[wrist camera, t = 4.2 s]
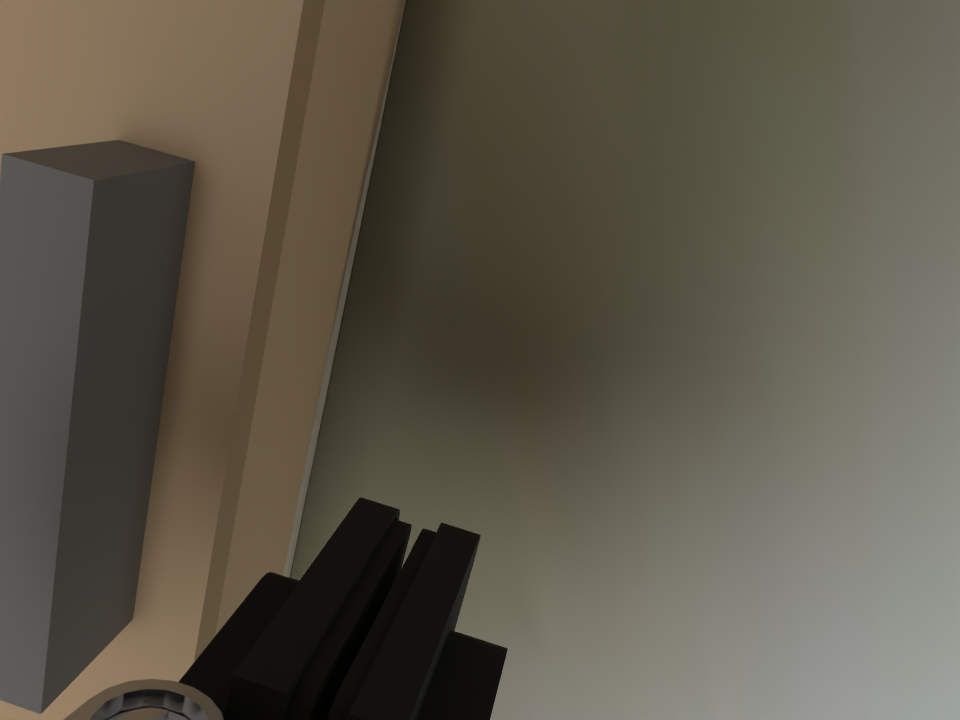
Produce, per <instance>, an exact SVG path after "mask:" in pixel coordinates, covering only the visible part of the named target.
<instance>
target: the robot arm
mask: <svg viewBox="0 0 960 720" xmlns="http://www.w3.org/2000/svg"><path fill="white" fill-rule="evenodd" d="M399 515H400V510H399V509H396V508H393V507H390V506H386V505H383V504H380V503H377V502H374V501H371V500H367V499H364V498H359V499H358V500H357V502H356V503H355V504H354V506H353V507H352V509H351V510H350V511H349V513H348V514H347V516H346V517H345V518H344V520H343V521H342V523H341V524H340V525H339V527H338V528H337V530H336V531H335V532H334V534H333V535H332V536H331V538H330V539H329V541H328V542H327V543H326V545H325V546H324V548H323V549H322V550H321V552H320V553H319V555H318V556H317V557H316V559H315V560H314V562H313V563H312V564H311V566H310V567H309V569H308V570H307V571H306V573H305V574H304V576H303V577H302V578H301V580H300V581H298V580H295V579H292V578H289V577H285V576H282V575H279V574H276V573H273V572H268V573H266V574H265V575H264V576H263V577H262V578H261V579H260V581H259V582H258V583H257V584H256V586H255V587H254V588H253V589H252V591H251V592H250V593H249V594H248V596H247V597H246V598H245V599H244V601H243V602H242V603H241V604H240V606H239V607H238V608H237V609H236V611H235V612H234V613H233V614H232V616H231V617H230V618H229V619H228V621H227V622H226V623H225V624H224V626H223V627H222V628H221V629H220V631H219V632H218V633H217V634H216V636H215V637H214V638H213V639H212V641H211V642H210V643H209V644H208V646H207V647H206V648H205V649H204V651H203V652H202V653H201V654H200V656H199V657H198V658H197V659H196V661H195V662H194V663H193V664H192V666H191V667H190V668H189V669H188V671H187V672H186V673H185V674H184V676H183V677H182V678H181V679H180V681H179V682H176V681H170V680H160V679H143V680H133V681H127V682H124V683H121V684H118V685H115V686H112V687H108V688H106V689H105V690H103V691H101V692H100V693H98V694H96V695H95V696H93V697H91V698H90V699H88V700H87V701H86V702H85V703H83V704H82V705H81V706H80V707H78V708H77V709H76V710H75V711H73V712H72V713H71V714H70V715H69V716H67V717H66V718H65V719H64V720H490V717H491V713H492V709H493V705H494V701H495V697H496V693H497V689H498V685H499V681H500V677H501V673H502V669H503V666H504V662H505V658H506V653H507V648H504V647H501V646H498V645H495V644H492V643H489V642H486V641H483V640H480V639H477V638H474V637H470V636H467V635H464V634H461V633H458V632H455V631H454V630H455V627H456V623H457V620H458V616H459V612H460V609H461V605H462V602H463V598H464V595H465V591H466V587H467V584H468V580H469V577H470V573H471V570H472V566H473V562H474V559H475V555H476V552H477V548H478V544H479V540H480V535H479V534H476V533H473V532H470V531H466V530H463V529H460V528H457V527H454V526H450V525H447V524H444V523H441V525H440V526H439V528H438V530H437V533H436V532H433V531H430V530H427V529H422V531H421V533H420V534H419V536H418V538H417V540H416V542H415V544H414V546H413V548H412V550H411V552H410V554H409V556H408V558H407V559H406V561H405V563H404V565H403V567H402V564H403V560H404V556H405V552H406V548H407V544H408V540H409V536H410V532H411V524H408V523H405V522H401V521H399ZM401 568H402V569H401Z"/></svg>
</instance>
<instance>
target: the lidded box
mask: <svg viewBox="0 0 960 720" xmlns="http://www.w3.org/2000/svg"><path fill="white" fill-rule="evenodd" d="M405 3H406V0H325V4H324V10H323V16H322V21H321V27H320V33H319V39H318V44H317V50H316V56H315V62H314V67H313V73H312V79H311V85H310V91H309V96H308V102H307V108H306V114H305V119H304V125H303V131H302V137H301V142H300V148H299V154H298V160H297V166H296V171H295V177H294V183H293V189H292V194H291V200H290V206H289V212H288V217H287V223H286V229H285V235H284V241H283V246H282V252H281V258H280V264H279V269H278V275H277V281H276V287H275V292H274V298H273V304H272V310H271V316H270V321H269V327H268V333H267V339H266V344H265V350H264V356H263V362H262V367H261V373H260V379H259V385H258V391H257V396H256V402H255V408H254V414H253V419H252V425H251V431H250V437H249V443H248V448H247V454H246V460H245V466H244V471H243V477H242V483H241V489H240V494H239V500H238V506H237V512H236V518H235V523H234V529H233V535H232V541H231V546H230V552H229V558H228V564H227V569H226V575H225V581H224V587H223V593H222V598H221V604H220V610H219V616H218V621H217V627H216V633H215V636H216V634H217V633H218V632H219V631H220V629H221V628H222V627H223V626H224V624H225V623H226V622H227V621H228V619H229V618H230V617H231V616H232V614H233V613H234V612H235V611H236V609H237V608H238V607H239V606H240V604H241V603H242V602H243V601H244V599H245V598H246V597H247V596H248V594H249V593H250V592H251V591H252V589H253V588H254V587H255V586H256V584H257V583H258V582H259V581H260V579H261V578H262V577H263V576H264V575H265V574H266V573H268V572H273V573H276V574H279V575H282V576H285V577H289V578H290V574H291V569H292V564H293V559H294V554H295V550H296V545H297V540H298V535H299V530H300V525H301V520H302V515H303V510H304V505H305V500H306V495H307V490H308V485H309V480H310V475H311V470H312V465H313V460H314V455H315V450H316V445H317V440H318V435H319V430H320V425H321V420H322V415H323V410H324V405H325V400H326V395H327V390H328V386H329V381H330V376H331V371H332V366H333V361H334V356H335V351H336V346H337V341H338V336H339V331H340V326H341V321H342V316H343V311H344V306H345V301H346V296H347V291H348V286H349V281H350V276H351V271H352V266H353V261H354V256H355V251H356V246H357V241H358V236H359V231H360V226H361V222H362V217H363V212H364V207H365V202H366V197H367V192H368V187H369V182H370V177H371V172H372V167H373V162H374V157H375V152H376V147H377V142H378V137H379V132H380V127H381V122H382V117H383V112H384V107H385V102H386V97H387V92H388V87H389V82H390V77H391V72H392V67H393V63H394V58H395V53H396V48H397V43H398V38H399V33H400V28H401V23H402V18H403V13H404V8H405Z"/></svg>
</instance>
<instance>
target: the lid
mask: <svg viewBox="0 0 960 720" xmlns="http://www.w3.org/2000/svg"><path fill="white" fill-rule="evenodd" d="M324 4H325V0H0V720H64V719H65V718H66V717H67V716H69V715H70V714H71V713H72V712H73V711H75V710H76V709H77V708H78V707H80V706H81V705H82V704H83V703H85V702H86V701H87V700H88V699H90V698H91V697H93V696H95V695H96V694H98V693H100V692H101V691H103V690H105V689H106V688H108V687H112V686H115V685H118V684H121V683H124V682H127V681H133V680H143V679H160V680H170V681H176V682H179V681H180V679H181V678H182V677H183V676H184V674H185V673H186V672H187V671H188V669H189V668H190V667H191V666H192V664H193V663H194V662H195V661H196V659H197V658H198V657H199V656H200V654H201V653H202V652H203V651H204V649H205V648H206V647H207V646H208V644H209V643H210V642H211V641H212V639H213V638H214V637H215V633H216V627H217V621H218V616H219V610H220V604H221V598H222V593H223V587H224V581H225V575H226V569H227V564H228V558H229V552H230V546H231V541H232V535H233V529H234V523H235V518H236V512H237V506H238V500H239V494H240V489H241V483H242V477H243V471H244V466H245V460H246V454H247V448H248V443H249V437H250V431H251V425H252V419H253V414H254V408H255V402H256V396H257V391H258V385H259V379H260V373H261V367H262V362H263V356H264V350H265V344H266V339H267V333H268V327H269V321H270V316H271V310H272V304H273V298H274V292H275V287H276V281H277V275H278V269H279V264H280V258H281V252H282V246H283V241H284V235H285V229H286V223H287V217H288V212H289V206H290V200H291V194H292V189H293V183H294V177H295V171H296V166H297V160H298V154H299V148H300V142H301V137H302V131H303V125H304V119H305V114H306V108H307V102H308V96H309V91H310V85H311V79H312V73H313V67H314V62H315V56H316V50H317V44H318V39H319V33H320V27H321V21H322V16H323V10H324Z"/></svg>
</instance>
